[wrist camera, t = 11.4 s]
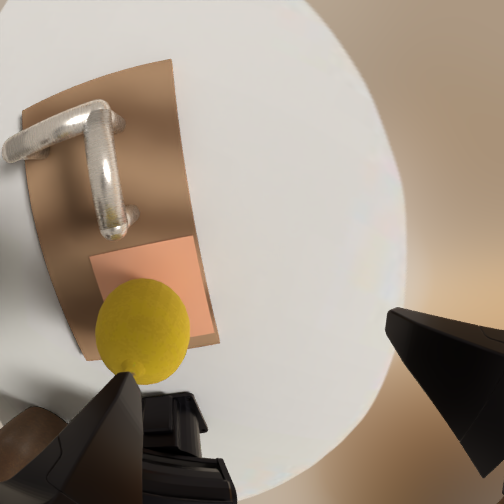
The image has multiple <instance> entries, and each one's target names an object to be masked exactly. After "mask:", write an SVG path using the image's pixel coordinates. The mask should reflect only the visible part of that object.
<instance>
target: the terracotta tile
mask: <svg viewBox="0 0 504 504" xmlns="http://www.w3.org/2000/svg"><path fill="white" fill-rule="evenodd" d="M89 258H90V261H91V264H92V268H93V271H94V274H95V277H96V280H97V283H98V286H99V289H100V292H101V295H102V298H103V301H105V299H106V298H107V296H108V295H109V294H110V293H111V292H112V291H113V290H114V289H115V288H117V287H118V286H119V285H121V284H123V283H125V282H127V281H130V280H133V279H139V278H146V279H153V280H156V281H159V282H162V283H164V284H165V285H167V286H168V287H170V288H171V289H172V290H173V291H174V292H175V293H176V294H177V295H178V296H179V297H180V299H181V300H182V302H183V304H184V305H185V307H186V311H187V314H188V317H189V321H190V337H195V336H200V335H206V334H211V333H215V332H214V328H213V324H212V319H211V315H210V311H209V307H208V303H207V298H206V294H205V290H204V285H203V281H202V276H201V271H200V267H199V262H198V257H197V252H196V247H195V242H194V237H193V235H189V236H184V237H178V238H173V239H168V240H163V241H158V242H153V243H148V244H144V245H139V246H134V247H129V248H125V249H120V250H115V251H111V252H106V253H101V254H97V255H92V256H90V257H89Z"/></svg>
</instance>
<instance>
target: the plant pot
mask: <svg viewBox="0 0 504 504" xmlns="http://www.w3.org/2000/svg"><path fill="white" fill-rule="evenodd" d="M67 425H68V424H67V423H66V422H65V421H63V420H62V419H61V418H60V417H58V416H57V415H55V414H53V413H52V412H50V411H48V410H46V409H43V408H40V407H35V406H33V407H29V408H28V409H26V410H25V411H23V412H22V413H20V414H19V415H17V416H16V417H15V418H13V419H12V420H11V421H9V422H8V423H7V424H6V425H5V426H3V427H2V428H1V429H0V482H3V481H6V480H8V479H10V478H12V477H13V476H14V475H15V474H16V473H18V472H19V471H20V470H21V469H22V468H23V467H25V466H26V465H27V464H28V463H29V462H31V461H32V460H33V459H34V458H35V457H36V456H37V455H38V454H40V453H41V452H42V451H43V450H44V449H45V448H46V447H47V446H48V445H49V444H50V443H51V442H52V441H53V440H54V439H55V438H56V436H59V433H60V432H61V431H62V430H63V429H64V428H65V427H66V426H67Z"/></svg>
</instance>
